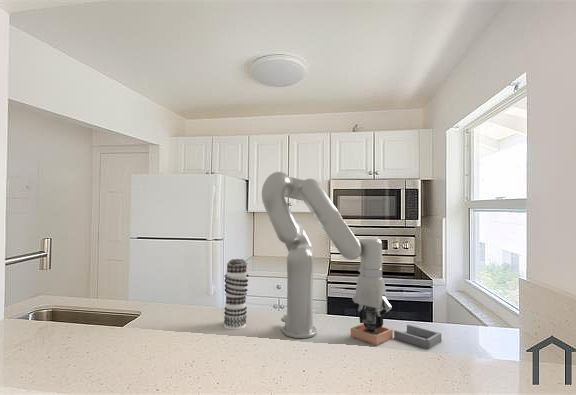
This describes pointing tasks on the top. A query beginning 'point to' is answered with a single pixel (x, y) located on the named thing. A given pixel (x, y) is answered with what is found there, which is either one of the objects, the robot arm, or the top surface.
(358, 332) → the dish
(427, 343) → the cubby
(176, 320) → the top surface
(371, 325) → the chess piece
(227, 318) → the striped cylinder tower
